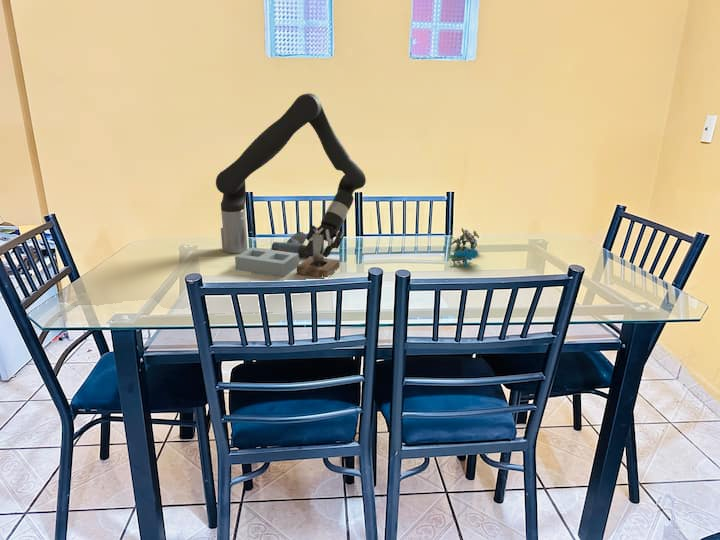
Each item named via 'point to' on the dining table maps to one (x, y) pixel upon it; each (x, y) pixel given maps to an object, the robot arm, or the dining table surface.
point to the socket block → (318, 268)
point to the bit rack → (267, 261)
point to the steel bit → (318, 249)
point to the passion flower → (466, 239)
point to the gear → (463, 256)
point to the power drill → (293, 245)
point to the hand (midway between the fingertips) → (315, 254)
